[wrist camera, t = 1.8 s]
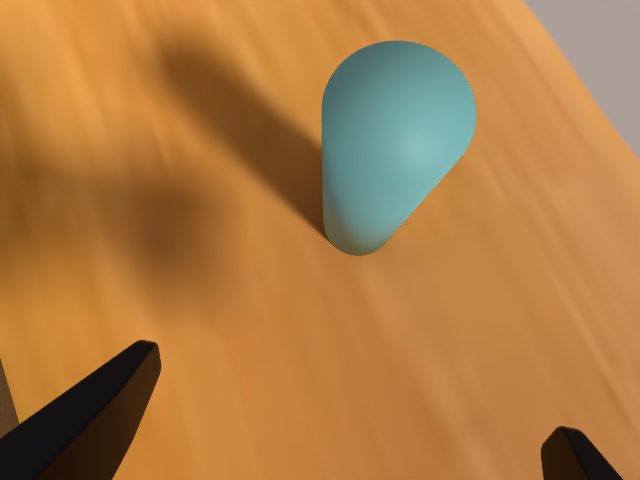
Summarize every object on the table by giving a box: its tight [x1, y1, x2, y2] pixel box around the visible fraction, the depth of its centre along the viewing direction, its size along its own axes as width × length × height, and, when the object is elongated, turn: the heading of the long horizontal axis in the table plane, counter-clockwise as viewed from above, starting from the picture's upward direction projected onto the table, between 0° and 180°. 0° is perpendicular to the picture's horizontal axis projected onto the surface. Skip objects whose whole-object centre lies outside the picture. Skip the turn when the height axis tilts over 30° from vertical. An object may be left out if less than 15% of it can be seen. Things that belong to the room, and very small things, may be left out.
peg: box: [322, 41, 476, 256], centre depth 17 cm, size 4×4×13 cm
